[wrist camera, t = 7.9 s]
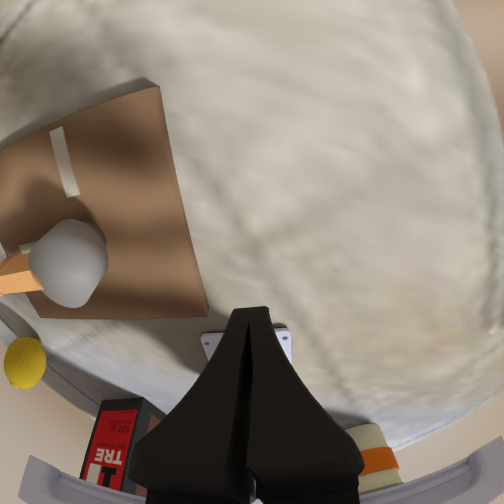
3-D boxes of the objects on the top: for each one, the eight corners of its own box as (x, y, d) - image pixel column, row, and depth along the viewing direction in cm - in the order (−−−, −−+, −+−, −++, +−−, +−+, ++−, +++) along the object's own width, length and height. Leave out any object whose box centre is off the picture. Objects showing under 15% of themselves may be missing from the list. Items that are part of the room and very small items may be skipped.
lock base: (208, 306, 23) (204, 329, 21) (45, 310, 25) (34, 327, 22) (159, 87, 15) (144, 86, 12) (-17, 163, 16) (-36, 173, 14)
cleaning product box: (102, 400, 34) (71, 513, 17) (143, 397, 32) (115, 532, 15) (166, 443, 42) (153, 536, 25) (207, 442, 40) (199, 545, 23)
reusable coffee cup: (305, 445, 41) (312, 519, 28) (355, 416, 35) (372, 504, 22) (355, 447, 44) (365, 511, 31) (402, 420, 38) (421, 491, 25)
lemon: (39, 324, 26) (9, 374, 19) (62, 355, 29) (39, 404, 22) (15, 323, 26) (-13, 367, 19) (37, 352, 29) (14, 396, 22)
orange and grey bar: (91, 211, 16) (67, 234, 13) (119, 277, 18) (102, 305, 16) (-5, 242, 17) (-25, 261, 14) (20, 289, 19) (4, 311, 17)
